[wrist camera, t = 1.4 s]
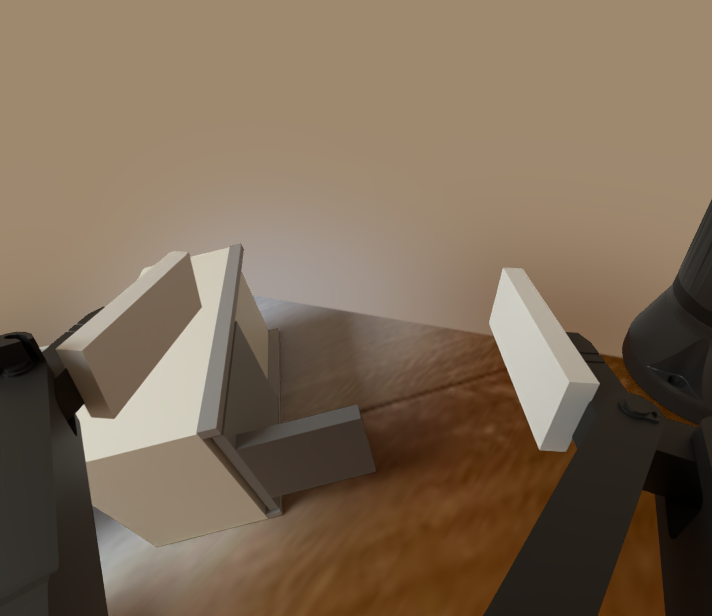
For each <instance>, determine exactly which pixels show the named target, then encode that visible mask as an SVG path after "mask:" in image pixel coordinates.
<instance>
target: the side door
mask: <svg viewBox="0 0 712 616" xmlns="http://www.w3.org/2000/svg"><path fill="white" fill-rule="evenodd" d="M212 439H213V440H214V441H215V442H216V444H217V445H218V446H219V447H220V449H221V450H222V451H223V452H224V454H225V455H226V456H227V457H228V459H229V460H230V461H231V462H232V464H233V465H234V466H235V467H236V469H237V470H238V471H239V472H240V474H241V475H242V476H243V477H244V479H245V480H246V481H247V482H248V484H249V485H250V486H251V487H252V489H253V490H254V491H255V492H256V494H257V495H258V496H259V497H260V499H261V500H262V501H263V502H264V504H265V505H266V506H267V507H268V509H269V510H273V509H277V508H279V496H283V495H286V494H290V493H294V492H298V491H302V490H306V489H310V488H314V487H318V486H322V485H326V484H330V483H334V482H337V481H341V480H345V479H349V478H353V477H357V476H361V475H365V474H369V473H373V472H376V467H375V463H374V458H373V455H372V451H371V448H370V444H369V441H368V438H367V434H366V431H365V427H364V424H363V420H362V417H361V414H360V410H359V407H358V404H357V405H353V406H349V407H345V408H341V409H337V410H333V411H329V412H325V413H321V414H317V415H313V416H309V417H305V418H301V419H297V420H293V421H289V422H285V423H281V424H278V399H277V397H276V395H275V393H274V391H273V390H272V388H271V386H270V384H269V382H268V380H267V378H266V376H265V374H264V372H263V370H262V368H261V367H260V365H259V363H258V361H257V359H256V357H255V355H254V353H253V351H252V349H251V347H250V345H249V343H248V342H247V340H246V338H245V336H244V334H243V332H242V330H241V328H240V326H239V324H238V322H237V321H235V325H234V333H233V341H232V350H231V358H230V366H229V374H228V383H227V391H226V399H225V407H224V415H223V424H222V432H221V435H218V436H214V437H212Z"/></svg>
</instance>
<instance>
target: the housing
mask: <svg viewBox="0 0 712 616" xmlns="http://www.w3.org/2000/svg"><path fill="white" fill-rule="evenodd" d="M243 251H244V249H243V247H242V245H241V244H237V245H233V246H230V247H229V248H226V249H221V250H217V251H213V252H209V253H205V254H201V255H197V256H193V257H190V259H191V263H192V267H193V271H194V275H195V280H196V284H197V288H198V292H199V297H200V301H201V305H202V308H201V309H200V310H199V311H198V313H197V314H196V315H195V317H194V318H193V319H192V320H191V322H190V323H189V324H188V325H187V327H186V328H185V329H184V331H183V332H182V333H181V334H180V336H179V337H178V338H177V340H176V341H175V342H174V343H173V345H172V346H171V347H170V349H169V350H168V351H167V352H166V354H165V355H164V356H163V357H162V359H161V360H160V361H159V363H158V364H157V365H156V366H155V368H154V369H153V370H152V372H151V373H150V374H149V375H148V377H147V378H146V379H145V381H144V382H143V383H142V384H141V386H140V387H139V388H138V389H137V391H136V392H135V393H134V395H133V396H132V397H131V398H130V400H129V401H128V402H127V404H126V405H125V406H124V407H123V409H122V410H121V411H120V413H119V414H118V415H117V416H116V418H115V419H106V418H92V417H91V416H90V415H89V413H88V411H87V409H86V407H85V405H83V406H82V407H81V408H80V409H79V410H78V411H77V412H76V413H75V414H76V415H77V417H78V419H79V421H80V426H81V433H82V440H83V447H84V454H85V460H86V467H87V474H88V481H89V488H90V494H91V501H92V505H93V506H94V507H96V508H97V509H99V510H101V511H102V512H104V513H105V514H107V515H108V516H110V517H111V518H113V519H114V520H116V521H117V522H119V523H120V524H122V525H123V526H125V527H126V528H128V529H130V530H131V531H133V532H134V533H136V534H137V535H139V536H140V537H142V538H143V539H145V540H146V541H148V542H149V543H151V544H152V545H154V546H156V547H159V546H163V545H167V544H171V543H175V542H179V541H183V540H186V539H190V538H194V537H198V536H202V535H206V534H210V533H214V532H218V531H222V530H225V529H229V528H233V527H237V526H241V525H245V524H249V523H253V522H257V521H261V520H265V519H268V518H272V517H276V516H280V515H282V496H279V508H277V509H273V510H269V509H268V507H267V506H266V505H265V504H264V502H263V501H262V500H261V499H260V497H259V496H258V495H257V494H256V492H255V491H254V490H253V489H252V487H251V486H250V485H249V484H248V482H247V481H246V480H245V479H244V477H243V476H242V475H241V474H240V472H239V471H238V470H237V469H236V467H235V466H234V465H233V464H232V462H231V461H230V460H229V459H228V457H227V456H226V455H225V454H224V452H223V451H222V450H221V449H220V447H219V446H218V445H217V444H216V442H215V441H214V440H213V439H212V437H214V436H218V435H221V432H222V424H223V415H224V407H225V399H226V391H227V383H228V374H229V366H230V358H231V350H232V341H233V333H234V325H235V321H237V322H238V324H239V326H240V328H241V330H242V332H243V334H244V336H245V338H246V340H247V342H248V343H249V345H250V347H251V349H252V351H253V353H254V355H255V357H256V359H257V361H258V363H259V365H260V367H261V368H262V370H263V372H264V374H265V376H266V378H267V380H268V382H269V384H270V386H271V388H272V390H273V391H274V393H275V395H276V397H277V399H278V424H281V402H280V342H279V330H278V328H277V329H273V330H269V331H268V329H267V326H266V324H265V322H264V320H263V318H262V316H261V313H260V311H259V309H258V307H257V305H256V302H255V300H254V298H253V296H252V294H251V291H250V289H249V287H248V285H247V283H246V280H245V278H244V276H243V274H242V272H241V268H242V259H243ZM152 267H153V266H151V267H147V268H144V269H143V270H142V273H141V275H140V276H139V278H140V277H141V276H143V275H144V274H145V273H146V272H147V271H149V270H150V269H151V268H152ZM139 278H138V279H139Z"/></svg>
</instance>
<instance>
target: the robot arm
mask: <svg viewBox="0 0 712 616" xmlns="http://www.w3.org/2000/svg"><path fill="white" fill-rule="evenodd" d="M201 308H202V305H201V301H200V297H199V292H198V288H197V284H196V280H195V275H194V271H193V267H192V263H191V259H190V254H189V252H175V251H171V252H170V253H169V254H168V255H166V256H165V257H164V258H163V259H162V260H161V261H159V262H158V263H157V264H156V265H155V266H153V267H152V268H151V269H150V270H149V271H147V272H146V273H145V274H144V275H143V276H141V277H140V278H139V279H138V280H137V281H136V282H134V283H133V284H132V285H131V286H130V287H128V288H127V289H126V290H125V291H124V292H123V293H121V294H120V295H119V296H118V297H117V298H115V299H114V300H113V301H112V302H111V303H109V304H108V305H107V306H106V307H102V308H100V309H98V310H96V311H93V312H91V313H90V314H88V315H87V316H85V317H84V318H83V319H82V320H80V321H79V322H78V324H77V325H74V326H73V327H72V328H71V329H69V332H66V333H65V334H64V335H62V336H61V337H60V338H58V339H57V340H56V341H55V342H54V343H52V344H51V345H50V346H49V347H47V348H46V349H45V350H44V351H43V352H41V350H40V348H39V346H38V344H37V343H36V341H35V339H34V337H33V336H32V334H30V333H27V332H13V333H8V334H4V335H1V336H0V616H108V611H107V604H106V597H105V590H104V583H103V576H102V570H101V563H100V556H99V549H98V542H97V535H96V529H95V522H94V515H93V508H92V501H91V494H90V488H89V481H88V474H87V467H86V460H85V454H84V447H83V440H82V433H81V426H80V421H79V419H78V417H77V415H76V414H75V413H76V412H77V411H78V410H79V409H80V408H81V407H82V406H83V405H85V407H86V409H87V411H88V413H89V415H90V416H91V417H92V418H106V419H115V418H116V416H117V415H118V414H119V413H120V411H121V410H122V409H123V407H124V406H125V405H126V404H127V402H128V401H129V400H130V398H131V397H132V396H133V395H134V393H135V392H136V391H137V389H138V388H139V387H140V386H141V384H142V383H143V382H144V381H145V379H146V378H147V377H148V375H149V374H150V373H151V372H152V370H153V369H154V368H155V366H156V365H157V364H158V363H159V361H160V360H161V359H162V357H163V356H164V355H165V354H166V352H167V351H168V350H169V349H170V347H171V346H172V345H173V343H174V342H175V341H176V340H177V338H178V337H179V336H180V334H181V333H182V332H183V331H184V329H185V328H186V327H187V325H188V324H189V323H190V322H191V320H192V319H193V318H194V317H195V315H196V314H197V313H198V311H199V310H200V309H201ZM489 324H490V327H491V329H492V332H493V335H494V337H495V340H496V342H497V345H498V347H499V350H500V352H501V355H502V357H503V360H504V362H505V365H506V367H507V370H508V372H509V375H510V377H511V380H512V382H513V385H514V387H515V390H516V392H517V395H518V397H519V400H520V403H521V405H522V408H523V410H524V413H525V415H526V418H527V420H528V423H529V425H530V428H531V430H532V433H533V435H534V438H535V440H536V443H537V445H538V448H539V450H546V451H560V452H566V450H567V448H568V446H569V444H570V442H571V440H572V438H573V440H574V442H575V444H576V446H577V448H578V449H577V451H576V453H575V455H574V456H573V458H572V460H571V462H570V464H569V465H568V467H567V469H566V471H565V472H564V474H563V476H562V478H561V479H560V481H559V483H558V485H557V487H556V488H555V490H554V492H553V494H552V495H551V497H550V499H549V501H548V503H547V504H546V506H545V508H544V510H543V511H542V513H541V515H540V517H539V518H538V520H537V522H536V524H535V526H534V527H533V529H532V531H531V533H530V534H529V536H528V538H527V540H526V542H525V543H524V545H523V547H522V549H521V550H520V552H519V554H518V556H517V557H516V559H515V561H514V563H513V565H512V566H511V568H510V570H509V572H508V573H507V575H506V577H505V579H504V580H503V582H502V584H501V586H500V588H499V589H498V591H497V593H496V595H495V596H494V598H493V600H492V602H491V603H490V605H489V607H488V609H487V610H486V612H485V613H484V615H483V616H598V613H599V610H600V607H601V604H602V602H603V599H604V596H605V593H606V590H607V587H608V585H609V582H610V579H611V576H612V573H613V570H614V568H615V565H616V562H617V559H618V556H619V553H620V551H621V548H622V545H623V542H624V539H625V536H626V533H627V531H628V528H629V525H630V522H631V519H632V516H633V514H634V511H635V508H636V505H637V502H638V499H639V497H640V494H641V491H642V490H645V491H648V492H650V493H653V494H655V499H656V511H657V522H658V533H659V545H660V556H661V567H662V579H663V590H664V601H665V612H666V616H712V200H711V202H710V204H709V207H708V209H707V211H706V213H705V215H704V217H703V220H702V222H701V224H700V226H699V228H698V230H697V233H696V235H695V237H694V239H693V241H692V243H691V245H690V248H689V250H688V252H687V254H686V256H685V258H684V261H683V263H682V265H681V267H680V269H679V272H678V274H677V276H676V278H675V280H674V282H673V284H672V285H671V286H670V287H669V288H668V289H667V290H666V291H664V292H663V293H662V294H661V295H660V296H659V297H658V298H657V299H656V300H654V301H653V302H652V303H651V304H650V305H649V306H648V307H647V308H646V309H645V310H644V311H642V312H641V313H640V314H639V315H638V316H637V317H636V318H635V319H634V321H633V322H632V323H631V325H630V327H629V330H628V332H627V335H626V337H625V339H624V342H623V347H622V353H623V359H624V362H625V365H626V367H627V369H628V371H629V373H630V374H631V376H632V377H633V379H634V380H635V381H636V382H637V383H638V385H639V386H640V387H641V388H642V389H643V390H644V391H645V392H646V393H647V394H649V395H650V396H651V397H652V398H653V399H655V400H656V401H657V402H659V403H660V404H661V405H663V406H664V407H666V408H667V409H669V410H671V411H672V412H674V413H676V414H678V415H680V416H681V417H683V418H685V419H687V420H689V421H692V422H694V423H696V424H698V426H697V427H694V426H691V425H687V424H683V423H680V422H676V421H673V420H669V419H666V418H665V417H664V415H663V414H662V412H661V411H660V410H659V409H658V408H657V407H656V406H655V405H654V404H653V403H651V402H650V401H648V400H646V399H644V398H643V397H641V396H638V395H635V394H632V393H628V392H627V391H626V389H625V388H624V387H623V385H622V384H621V382H620V381H619V380H618V378H617V377H616V376H615V374H614V373H613V372H612V370H611V369H610V368H609V366H608V365H607V364H605V361H604V360H603V358H602V357H601V356H600V355H599V353H598V351H597V350H596V349H595V347H594V346H593V345H592V343H591V342H589V341H588V340H587V339H585V338H584V337H582V336H581V335H580V334H579V333H570V332H565V331H564V330H563V328H562V327H561V325H560V324H559V322H558V321H557V319H556V318H555V316H554V315H553V313H552V312H551V310H550V309H549V308H548V306H547V304H546V303H545V302H544V300H543V298H542V297H541V295H540V294H539V293H538V291H537V290H536V288H535V287H534V285H533V284H532V282H531V281H530V279H529V278H528V276H527V275H526V273H525V272H524V270H523V269H520V268H503V271H502V275H501V278H500V283H499V286H498V290H497V294H496V298H495V302H494V306H493V310H492V314H491V318H490V321H489Z"/></svg>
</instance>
